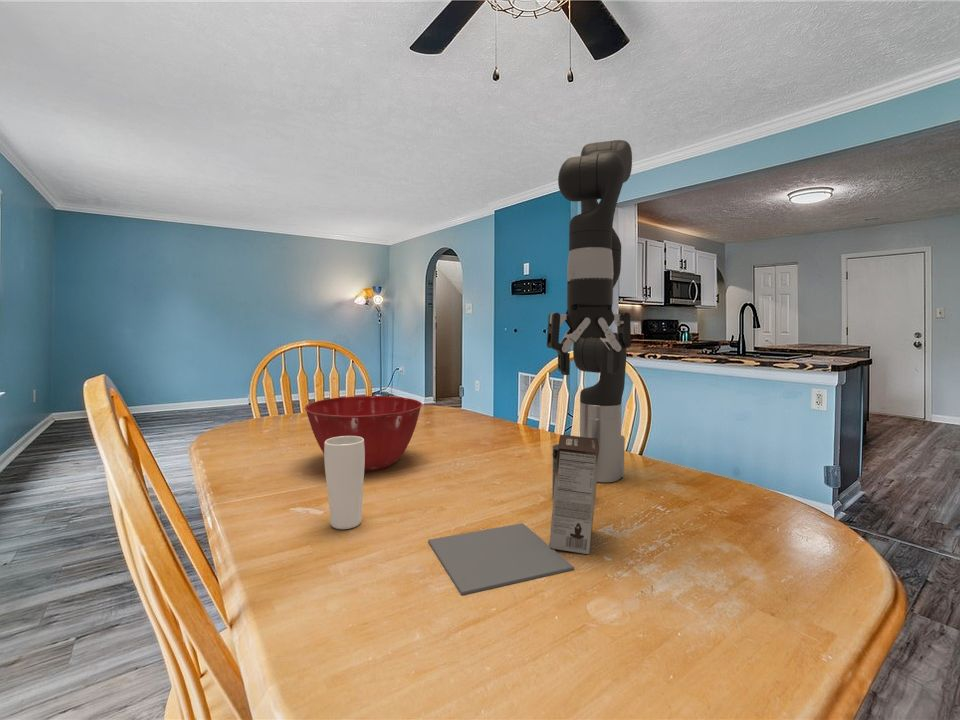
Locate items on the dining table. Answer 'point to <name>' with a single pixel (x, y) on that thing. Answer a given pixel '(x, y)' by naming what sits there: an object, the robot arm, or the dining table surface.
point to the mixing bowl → (367, 424)
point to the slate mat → (496, 557)
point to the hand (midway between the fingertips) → (588, 374)
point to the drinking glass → (345, 479)
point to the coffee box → (574, 493)
